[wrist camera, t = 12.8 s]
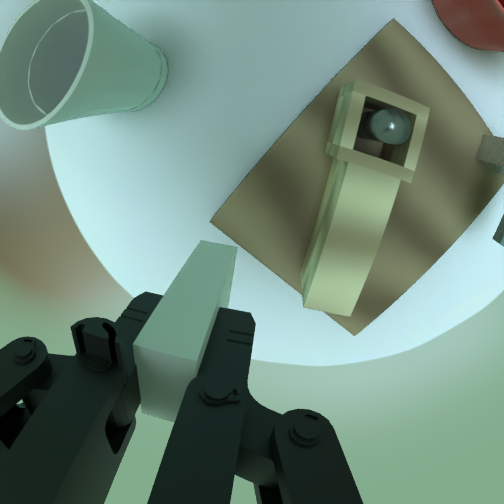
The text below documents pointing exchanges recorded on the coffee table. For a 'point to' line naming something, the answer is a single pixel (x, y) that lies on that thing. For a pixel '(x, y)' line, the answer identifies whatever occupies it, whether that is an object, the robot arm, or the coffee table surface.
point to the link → (356, 198)
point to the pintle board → (409, 194)
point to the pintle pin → (385, 126)
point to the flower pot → (474, 21)
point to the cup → (74, 65)
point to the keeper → (493, 168)
